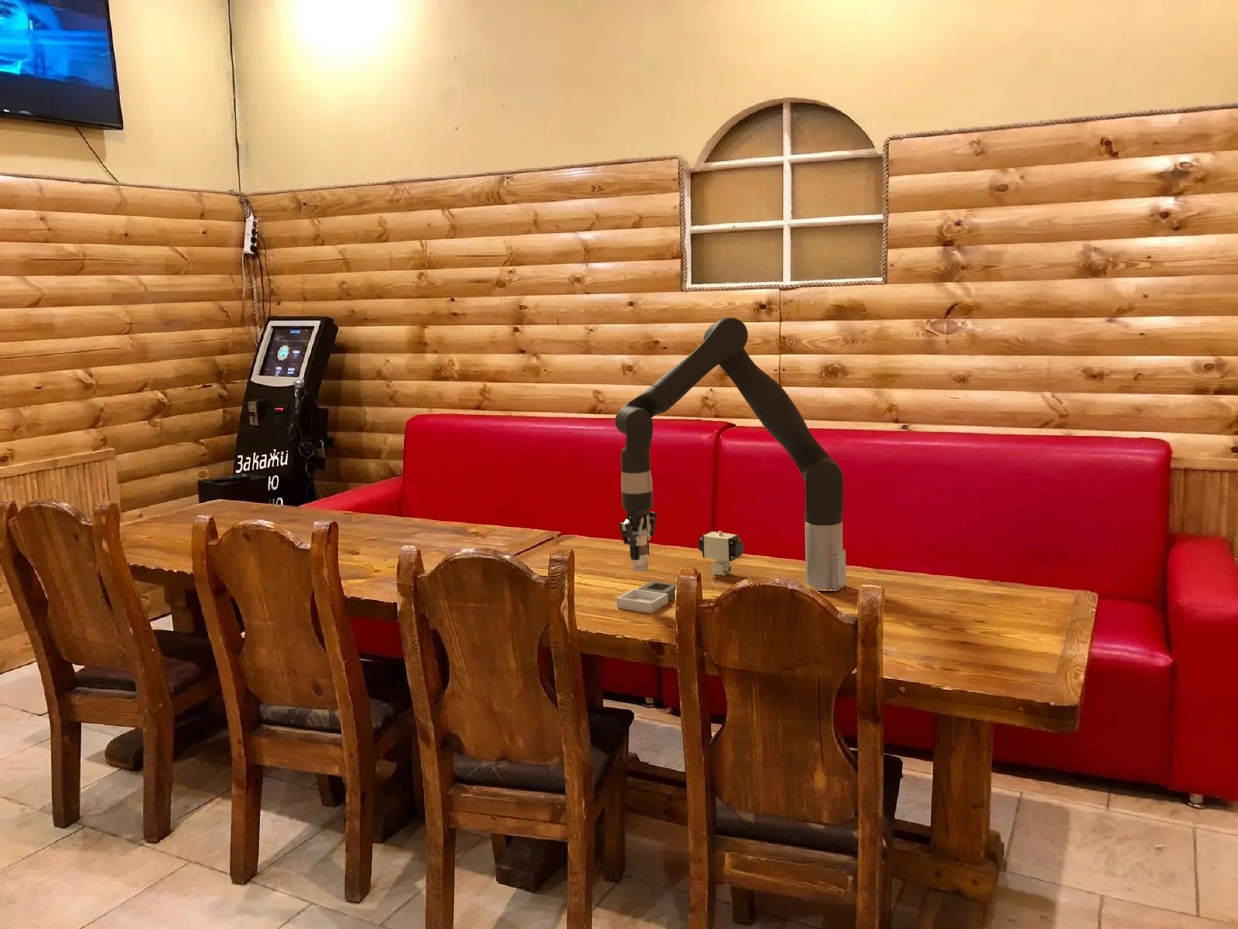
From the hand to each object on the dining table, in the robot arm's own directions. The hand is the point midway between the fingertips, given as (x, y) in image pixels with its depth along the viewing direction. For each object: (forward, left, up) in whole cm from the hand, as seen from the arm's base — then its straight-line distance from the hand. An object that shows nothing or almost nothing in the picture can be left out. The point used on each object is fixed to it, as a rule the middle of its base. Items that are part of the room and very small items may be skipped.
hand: (640, 557), depth 232 cm
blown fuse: (0, 0, -3) cm, 3 cm away
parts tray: (0, 0, -12) cm, 12 cm away
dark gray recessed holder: (0, -8, -12) cm, 15 cm away
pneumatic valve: (-6, -31, -13) cm, 34 cm away
